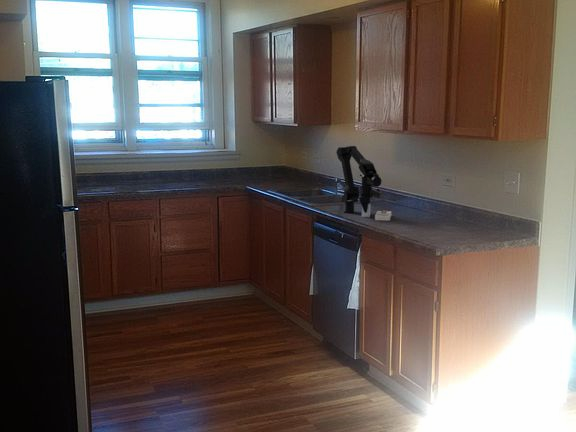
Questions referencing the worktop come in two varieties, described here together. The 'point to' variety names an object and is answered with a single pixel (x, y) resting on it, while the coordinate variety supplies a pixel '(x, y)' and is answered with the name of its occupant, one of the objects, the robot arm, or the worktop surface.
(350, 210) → the robot arm
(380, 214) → the power strip
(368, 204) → the box
